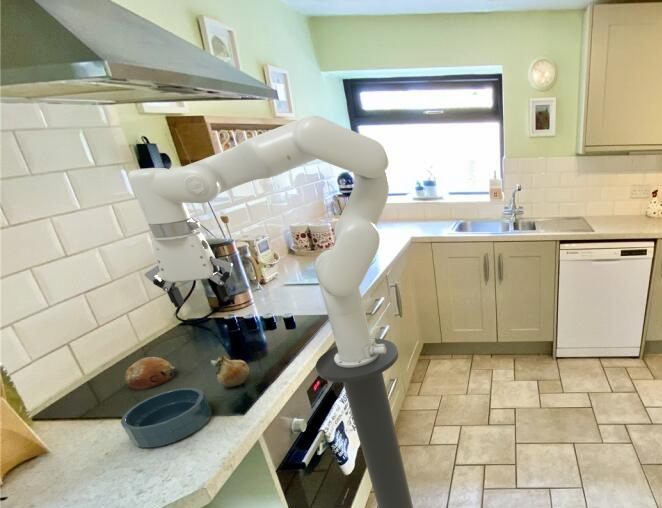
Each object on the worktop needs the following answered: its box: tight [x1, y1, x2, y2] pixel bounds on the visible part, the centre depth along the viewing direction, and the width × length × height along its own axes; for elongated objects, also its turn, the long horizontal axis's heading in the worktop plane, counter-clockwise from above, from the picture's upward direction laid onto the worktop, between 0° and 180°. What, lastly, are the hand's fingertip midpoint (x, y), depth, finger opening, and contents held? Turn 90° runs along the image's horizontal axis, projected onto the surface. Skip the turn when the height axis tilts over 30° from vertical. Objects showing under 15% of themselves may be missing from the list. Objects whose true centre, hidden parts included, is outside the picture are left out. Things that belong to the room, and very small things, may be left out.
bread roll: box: [124, 356, 176, 390], centre depth 111 cm, size 10×10×8 cm
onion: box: [210, 355, 250, 388], centre depth 106 cm, size 8×8×8 cm
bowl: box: [120, 387, 213, 448], centre depth 92 cm, size 15×15×6 cm
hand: (203, 302), depth 98 cm, fingers open, 9 cm apart
